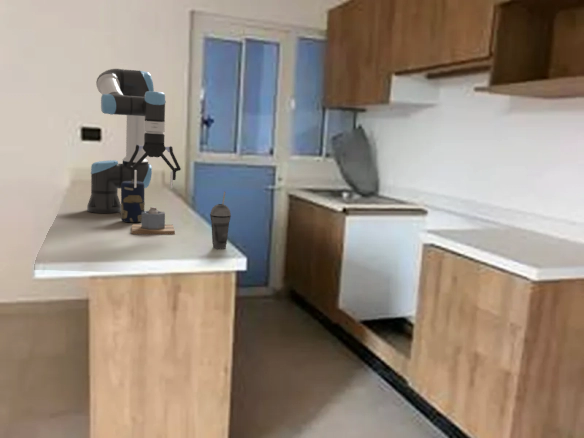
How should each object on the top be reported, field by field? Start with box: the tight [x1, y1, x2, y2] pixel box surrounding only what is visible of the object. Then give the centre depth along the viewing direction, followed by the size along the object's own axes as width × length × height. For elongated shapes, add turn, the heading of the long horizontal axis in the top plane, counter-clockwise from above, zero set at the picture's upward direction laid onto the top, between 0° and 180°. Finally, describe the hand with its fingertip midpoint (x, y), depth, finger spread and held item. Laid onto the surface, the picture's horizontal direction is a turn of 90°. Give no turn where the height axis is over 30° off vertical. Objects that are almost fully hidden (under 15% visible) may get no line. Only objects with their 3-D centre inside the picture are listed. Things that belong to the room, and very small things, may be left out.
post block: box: [131, 206, 176, 235], centre depth 215 cm, size 14×16×9 cm
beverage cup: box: [209, 191, 232, 250], centre depth 190 cm, size 7×7×20 cm
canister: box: [120, 179, 146, 223], centre depth 231 cm, size 10×10×18 cm
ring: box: [141, 210, 166, 230], centre depth 215 cm, size 9×9×6 cm
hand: (153, 187), depth 213 cm, fingers open, 13 cm apart
